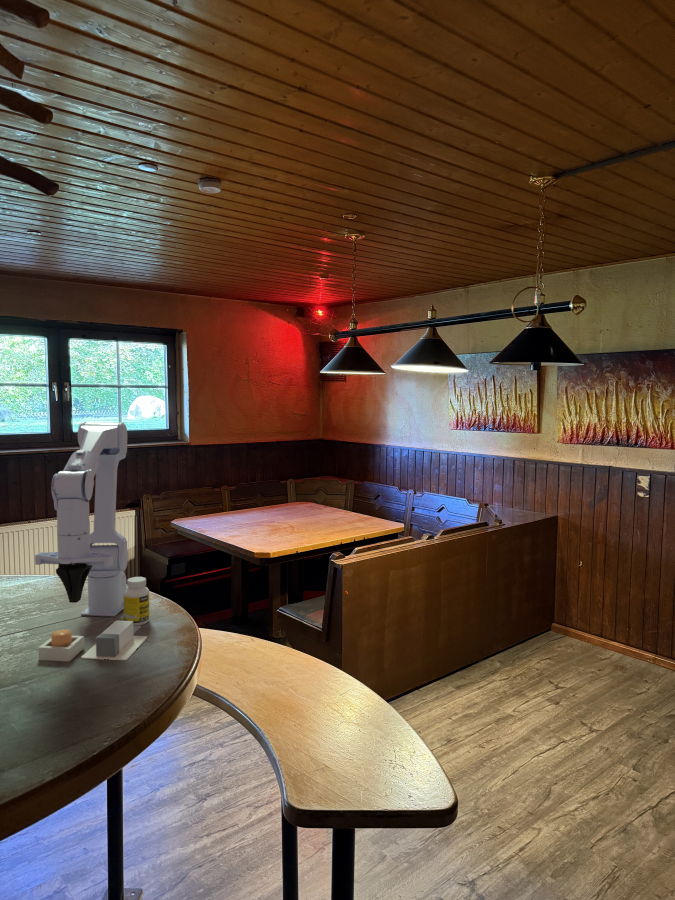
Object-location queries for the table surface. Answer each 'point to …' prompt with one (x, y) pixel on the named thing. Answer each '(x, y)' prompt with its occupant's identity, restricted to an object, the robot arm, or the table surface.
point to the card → (135, 628)
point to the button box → (61, 650)
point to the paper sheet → (122, 655)
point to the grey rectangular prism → (114, 638)
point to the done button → (61, 638)
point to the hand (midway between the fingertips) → (75, 600)
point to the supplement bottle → (136, 601)
